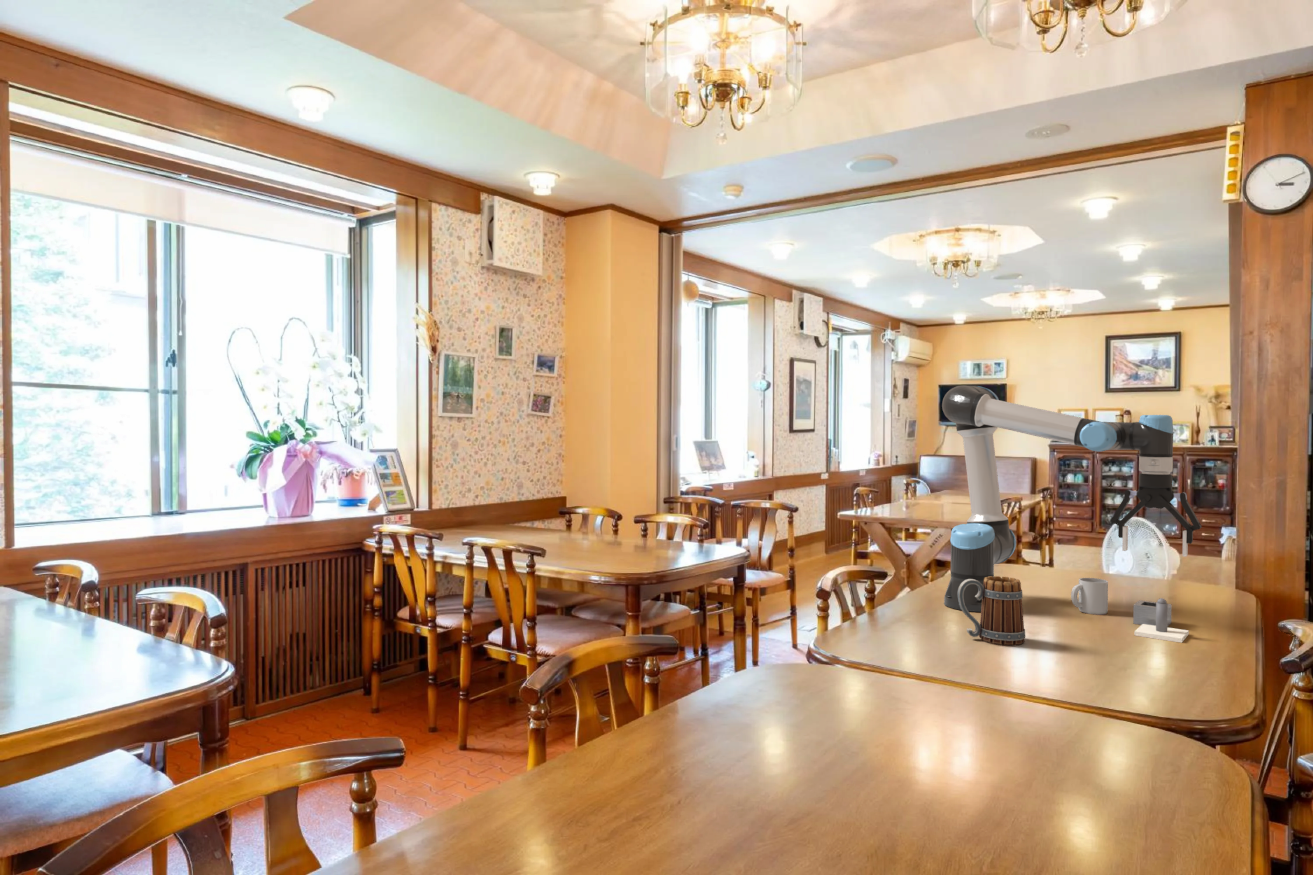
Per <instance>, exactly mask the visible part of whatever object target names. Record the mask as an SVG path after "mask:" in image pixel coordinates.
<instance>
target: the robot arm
mask: <svg viewBox="0 0 1313 875" xmlns="http://www.w3.org/2000/svg"><path fill="white" fill-rule="evenodd" d="M941 407H942V408H941V409H942V411H943V414H944V416H945V417H946V418H947V419H948V420H949V421H950V422H952V423H955V427H956V433H957V434H958V435H960V436H961V437H962V440H963V441H962V443H963V449H964V450H963V451H964V459H965V468H966V478H967V485H968V486H967V487H968V493H969V494H968V495H969V502H970V512H971V513H970V514H971V515H970V516H969V517H968V519H967V520H966V523H962V524H961V523H960V524H957V525H955V526H953V528H952V529H951V532H950V580H949V582H948V584H947V585H948V586H947V588H946V591H945V594H944V598H943V604H944V605H945V607H948V608H950V609H954V610H959V611H962V609H961V608H960V605H959V601H958V589H959V586H960V584H961V583H962V582H963V581H965V580H967V579H974V580H977V581H979V582H980V583H981V584H982V585H983V584H984V579H985V577H989V576H992V577H993V578H994V576H995V565H997V564H1001V563H1004V562H1005V561H1007V560H1008V559H1009V558H1010V557H1011V556H1012V555H1013V554H1014V552H1015V550H1016V547H1017V539H1016V535H1015V533H1014V532H1013V530H1012V529H1011V528H1010V524H1009V523H1010V522H1009V518H1008V517H1007V516H1006V515H1005V514H1004V513H1003V511H1002V503H1001V502H1002V501H1001V493H1000V486H999V478H998V470H997V469H998V466H997V460H996V451H995V443H994V434H995V432H996V431H997V430H998V428H999V429H1004V430H1008V431H1012V432H1017V433H1021V434H1025V435H1029V436H1033V437H1038V438H1043V439H1046V440H1047V439H1048V440H1052V441H1056V442H1060V443H1064V444H1069V445H1074V446H1077V447H1082V448H1086V449H1087V450H1089V451H1093V452H1097V453H1099V452H1100V453H1101V452H1106V451H1116V450H1117V451H1119V450H1120V451H1121V450H1122V451H1138V452H1139V456H1138V457H1139V460H1138V471H1139V472H1140V473H1139V474H1138V490H1132V489H1127V490H1125V491H1124V494H1123V495H1124V496H1123V499H1122V501H1121V502H1120V504H1119V505H1118V507H1117V509H1116V511H1115V512H1114V514H1113V516H1112V517H1111V519H1110V523H1111V524H1114V525H1116V526H1118V527H1117V528H1118V529H1117V533H1118V536H1117V537H1118V538H1121V539H1122V545H1121V546H1122V552H1126V551H1128V549H1129V547H1128V546H1129V545H1128V544H1129V526H1128V525H1126V524H1127V523H1128V522H1129V521H1130V520H1131V519H1132V518H1133V517H1134V516H1135V515H1136V514H1138V513H1139V512H1140V510H1142V509H1143V508H1144V507H1146V508H1147V509H1154V508H1156V509H1164V508H1165V509H1166V510H1167V511H1168V512H1169V513H1170V514H1171V515H1172V516H1173V517H1174V518H1175V519H1176V520H1177V522H1178V523H1179V524H1180V525H1181V526H1182V527H1183V528H1184V530H1182V555H1181V556H1182V557H1184V558H1185V557H1187V556H1188V555H1189V554H1188V552H1189V551H1188V548H1189V547H1188V545H1189V544H1192V543H1193V541H1194V540H1193V538H1194V537H1193V536H1194V531H1198V530H1200V529H1201V528H1202V524H1201V523H1200V521H1199V519H1198V517H1197V516H1196V514H1195V512H1194V510H1193V509H1192V507H1191V504H1190V503H1189V501H1188V495H1187V493H1186V492H1185V491H1183V492H1178V493H1176V492H1175V493H1174V491H1173V475H1172V474H1171V473H1172V472H1174V471H1173V469H1174V468H1173V467H1174V466H1173V463H1174V457H1173V452H1174V449H1173V448H1174V433H1175V431H1174V425H1173V417H1172V416H1171V415H1169V414H1142V415H1140V417H1139V420H1138V421H1133V422H1125V421H1124V422H1122V421H1119V422H1118V421H1110V422H1109V421H1098V420H1096V419H1095V420H1094V419H1089V418H1084V417H1081V416H1080V417H1079V416H1076V415H1075V416H1074V415H1071V414H1066V413H1061V412H1055V411H1051V410H1046V409H1042V408H1038V407H1037V408H1036V407H1033V406H1028V405H1024V404H1019V403H1014V402H1009V401H1004V400H999V397H998V395H997V394H996V393H995V392H993V391H992V390H991V389H989V388H986V387H983V386H979V385H976V386H973V385H957V386H955V387H952V388H950V389H949V390H948V391H947V392H946V393H945V394H944V397H943V399H942V403H941ZM1135 496H1136V497H1137V498H1138V499H1139V502H1138V503H1137V504H1136V505H1135V506H1134V507H1133V508H1132V509H1131V510H1130V511H1129V512H1128V513H1127V514H1126V515H1124V516H1123V518H1122V519H1120V517H1121V515H1122V514H1123V512H1124V511H1125V509H1126V508H1127V506H1128V505H1129V502H1130V501H1131V499H1134V498H1135ZM1174 499H1176V500H1177V501H1178V502H1180V503H1181V506H1182V508H1183V510H1184V511H1185V513H1186V515H1187V516H1188V518H1189V520H1190V522H1191V524H1190V523H1189V521H1188V520H1187V518H1185V517H1184V516H1183V515H1182V514H1181V512H1180V511H1178V509H1177V508H1176V507H1175V506H1174V505H1173V503H1172V501H1173V500H1174ZM977 594H978V586H977V585H975V584H970V585H968V586H967V587H966V588H965V590H964V594H963V598H964V603H965V606H966V609H967V610H968V612H975V613H976V612H980V613H981V607H982V599H981V600H978V599H977V598H976V597H975V596H976V595H977Z"/></svg>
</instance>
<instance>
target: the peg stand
mask: <svg viewBox="0 0 1313 875" xmlns="http://www.w3.org/2000/svg"><path fill="white" fill-rule="evenodd" d="M1168 604H1169V603H1167V600H1166V599H1165V598H1163V597H1161V598H1158V599H1157V601H1156V626H1154V625H1147V624H1142V625H1140V626H1138V628H1137V629H1135V630H1134V636H1136V637H1143V638H1151V639H1154V640H1155V639H1157V640H1162V641H1169V642H1174V643H1184V641H1185V639H1186V638H1188V636H1189V631H1190V630H1187V629H1180V628H1173V627H1169V626H1168V627H1167V610H1168Z"/></svg>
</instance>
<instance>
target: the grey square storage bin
mask: <svg viewBox="0 0 1313 875" xmlns="http://www.w3.org/2000/svg"><path fill="white" fill-rule="evenodd" d="M1156 602H1157V601H1156ZM1156 602H1155V601H1148V600H1141V599H1140V600H1137V602H1135V603H1134V604H1133V610H1132V612H1133V615H1132V616H1133V620H1132V621H1133V622H1132V624H1135V625H1140V626H1141V625H1142V624H1147V625H1154V626H1156ZM1167 604H1168V610H1167V627H1168V628H1169V626H1170V625H1171V624H1172V604H1171V603H1167Z"/></svg>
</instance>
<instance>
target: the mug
mask: <svg viewBox="0 0 1313 875" xmlns="http://www.w3.org/2000/svg"><path fill="white" fill-rule="evenodd" d="M1021 583H1022V582H1021V581H1020V579H1018V578H1015V577H1008V576H1002V577H1001V576H1000V575H998V576H997V575H994V578H993V577H992V576H989V577H985V579H984V584H983V585H982V584H981V583H980V582H979V581H977V580H974V579H967V580H965V581H963V582H962V583H961V584H960V586H959V589H958V601H959V605H960V608H961V609H962V610H961V611H962V613H963V614H964V615H965V617H967V618H968V619H969V620H970V621H971V622H972V624H974V627H975V628H974V630H973V629H972V628H971V627H970V628H966V632H967V634H968V635H969V636H971V637H972V638H976V637H979V639H981V640H982V642H986V643H989V644H992V645H998V646H1008V647H1009V646H1012V647H1013V646H1014V647H1015V646H1019V645H1020V646H1021V645H1022V644H1023V643H1025V641H1026V629H1025V627H1024V626H1025V624H1024V623H1025V622H1024V610H1023V609H1024V608H1023V596H1024V595H1023V589H1022V584H1021ZM970 584H975V585H977V586H978V594H977V595H976V596H975V597H976V598H977V599H978V600H981V599H982V607H981V612H980V619H979V620H980V621H978V620H977V619H976V618H975V617H974V616H973V615H972V613H970V611H968V610H967V609H966V606H965V603H964V598H963V594H964V590H965V588H966V587H967V586H968V585H970Z"/></svg>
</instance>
